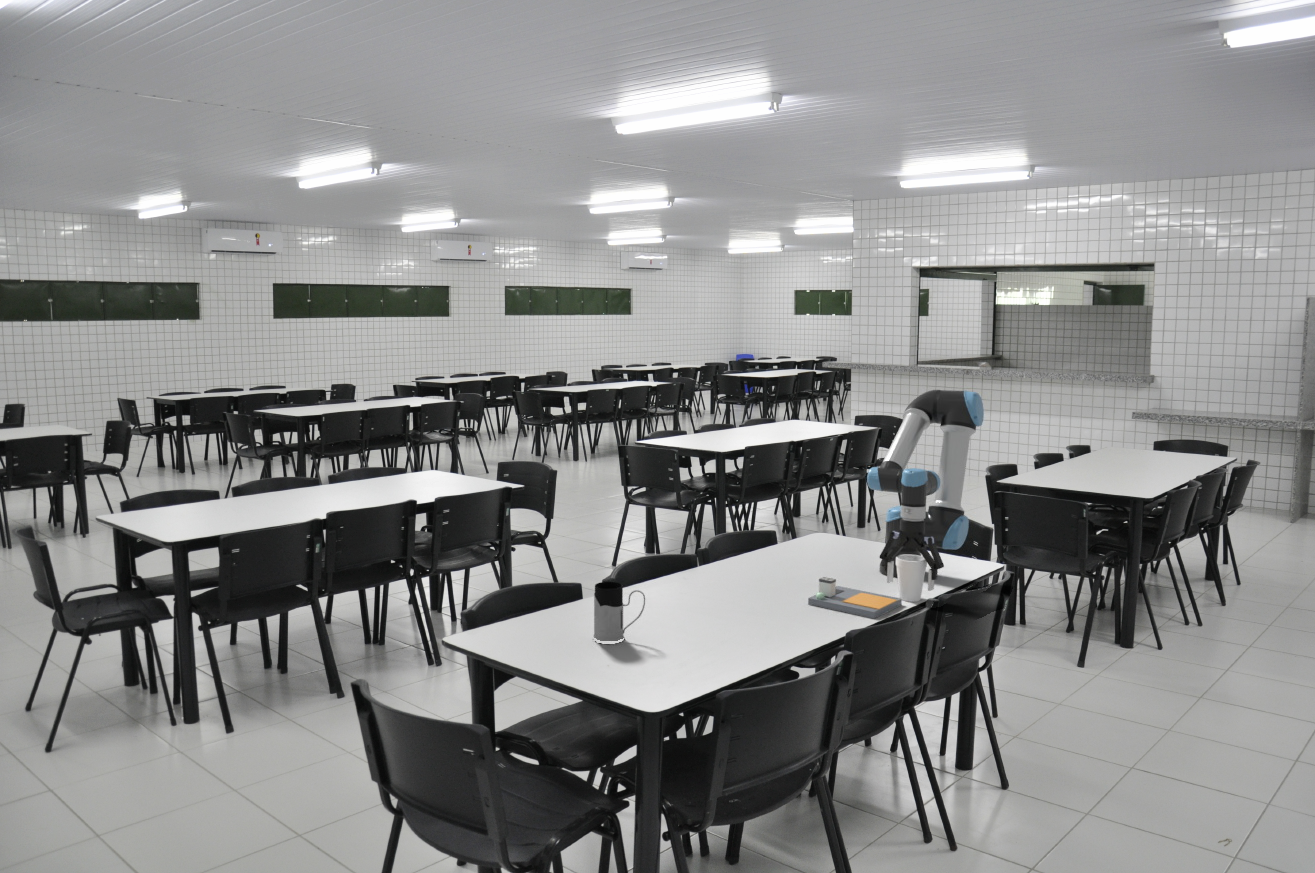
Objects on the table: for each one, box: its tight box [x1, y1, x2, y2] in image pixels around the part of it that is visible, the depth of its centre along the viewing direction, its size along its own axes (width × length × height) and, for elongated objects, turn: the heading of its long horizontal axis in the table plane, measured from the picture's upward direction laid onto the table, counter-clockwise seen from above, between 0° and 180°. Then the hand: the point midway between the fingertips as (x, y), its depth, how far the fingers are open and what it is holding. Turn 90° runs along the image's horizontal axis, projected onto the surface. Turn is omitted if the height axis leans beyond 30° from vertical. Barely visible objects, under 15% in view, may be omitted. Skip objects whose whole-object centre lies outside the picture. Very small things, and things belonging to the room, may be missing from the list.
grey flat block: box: [807, 585, 903, 620], centre depth 294 cm, size 18×22×4 cm
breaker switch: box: [818, 576, 837, 597], centre depth 297 cm, size 3×4×5 cm
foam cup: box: [896, 555, 928, 603], centre depth 300 cm, size 10×9×13 cm
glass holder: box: [593, 581, 646, 641], centre depth 260 cm, size 9×14×15 cm, turn 88°
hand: (910, 585), depth 301 cm, fingers open, 13 cm apart
